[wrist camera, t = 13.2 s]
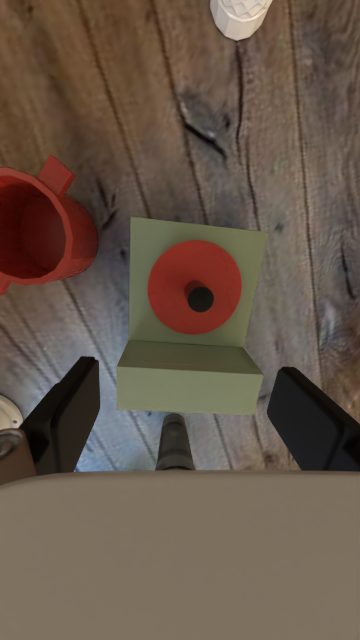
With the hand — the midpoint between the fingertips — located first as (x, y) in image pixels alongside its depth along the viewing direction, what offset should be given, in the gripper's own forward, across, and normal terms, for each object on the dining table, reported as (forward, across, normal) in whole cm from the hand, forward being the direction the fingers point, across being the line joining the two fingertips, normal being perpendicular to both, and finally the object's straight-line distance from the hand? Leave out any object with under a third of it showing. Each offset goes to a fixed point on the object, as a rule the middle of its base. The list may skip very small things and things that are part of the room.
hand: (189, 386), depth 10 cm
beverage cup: (+24, -2, +27) cm, 36 cm away
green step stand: (+24, -2, +1) cm, 24 cm away
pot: (+24, +18, -7) cm, 31 cm away
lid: (+17, -2, -2) cm, 18 cm away
